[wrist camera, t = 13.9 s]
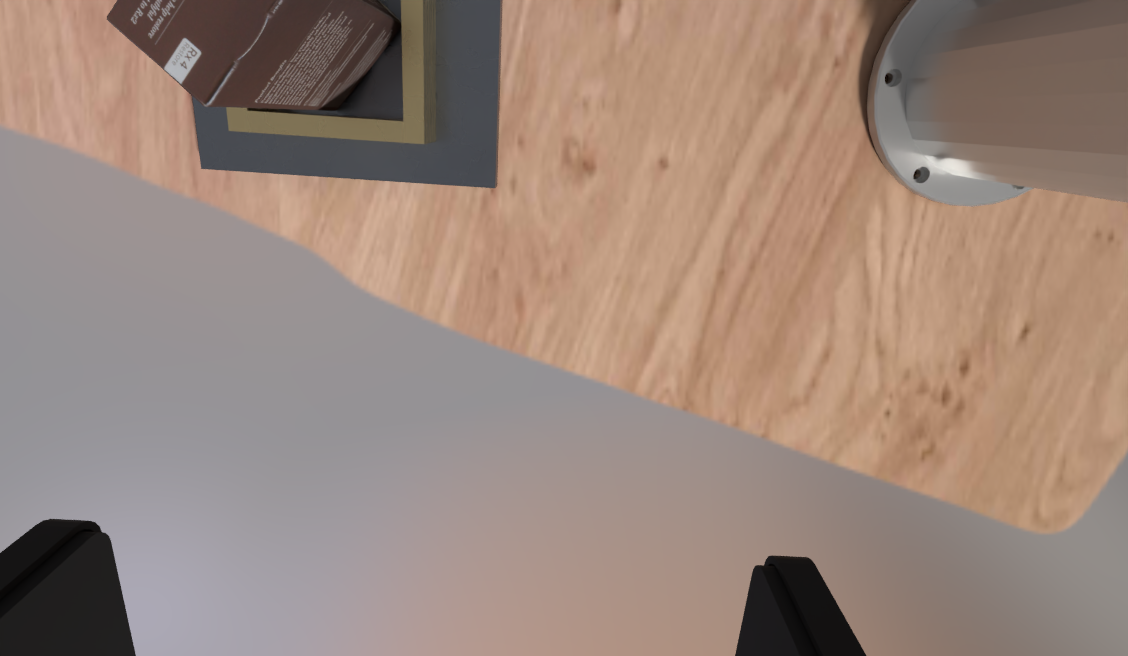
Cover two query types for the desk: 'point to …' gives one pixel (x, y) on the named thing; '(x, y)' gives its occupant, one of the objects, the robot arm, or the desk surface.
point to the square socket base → (386, 110)
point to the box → (261, 47)
